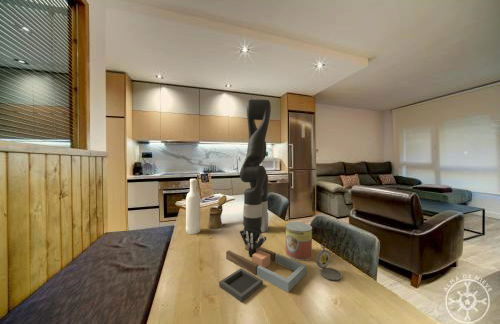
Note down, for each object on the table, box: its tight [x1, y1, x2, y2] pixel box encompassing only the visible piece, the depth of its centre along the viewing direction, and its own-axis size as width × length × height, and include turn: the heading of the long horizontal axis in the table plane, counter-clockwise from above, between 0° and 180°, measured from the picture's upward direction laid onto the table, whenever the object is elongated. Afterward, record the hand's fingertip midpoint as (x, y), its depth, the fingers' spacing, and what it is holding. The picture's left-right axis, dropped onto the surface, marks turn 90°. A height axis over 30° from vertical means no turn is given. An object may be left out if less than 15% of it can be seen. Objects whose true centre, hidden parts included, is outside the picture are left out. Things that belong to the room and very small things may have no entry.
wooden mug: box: [207, 194, 227, 230], centre depth 116 cm, size 9×14×18 cm, turn 143°
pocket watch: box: [315, 242, 343, 281], centre depth 67 cm, size 8×8×10 cm
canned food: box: [284, 221, 313, 261], centre depth 81 cm, size 11×11×12 cm
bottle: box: [185, 178, 201, 235], centre depth 105 cm, size 8×8×30 cm
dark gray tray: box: [218, 268, 264, 303], centre depth 60 cm, size 10×10×2 cm
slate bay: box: [256, 253, 308, 293], centre depth 66 cm, size 13×12×3 cm
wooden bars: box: [225, 244, 277, 276], centre depth 76 cm, size 13×16×3 cm
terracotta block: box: [251, 250, 271, 269], centre depth 72 cm, size 5×5×4 cm
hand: (252, 256), depth 75 cm, fingers closed
